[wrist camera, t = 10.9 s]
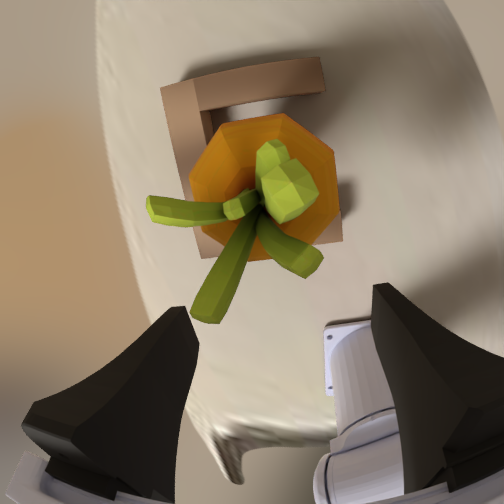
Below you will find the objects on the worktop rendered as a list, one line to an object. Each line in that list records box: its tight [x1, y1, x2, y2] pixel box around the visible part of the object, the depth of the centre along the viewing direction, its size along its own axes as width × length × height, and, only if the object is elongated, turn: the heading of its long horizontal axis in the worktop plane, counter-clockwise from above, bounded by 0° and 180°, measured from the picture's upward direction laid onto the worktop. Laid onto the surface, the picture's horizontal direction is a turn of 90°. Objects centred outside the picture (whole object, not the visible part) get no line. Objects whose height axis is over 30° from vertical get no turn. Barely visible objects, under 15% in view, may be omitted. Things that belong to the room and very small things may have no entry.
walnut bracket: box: [160, 57, 343, 259], centre depth 18 cm, size 11×9×2 cm
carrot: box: [146, 113, 340, 324], centre depth 12 cm, size 5×5×15 cm
